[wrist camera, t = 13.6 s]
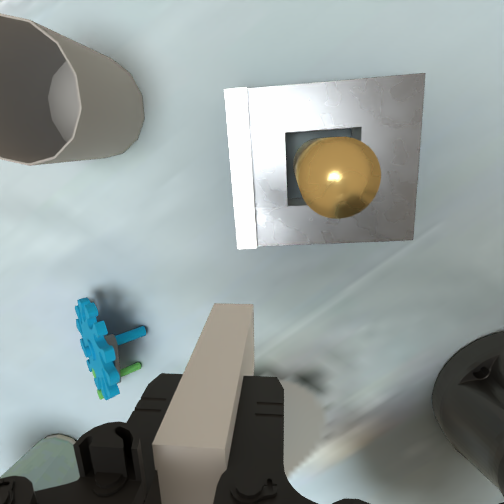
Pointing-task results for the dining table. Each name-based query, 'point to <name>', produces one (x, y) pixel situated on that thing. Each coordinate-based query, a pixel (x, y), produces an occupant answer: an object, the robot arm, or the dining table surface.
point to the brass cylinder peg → (337, 175)
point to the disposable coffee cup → (48, 463)
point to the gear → (103, 349)
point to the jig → (318, 119)
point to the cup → (62, 98)
